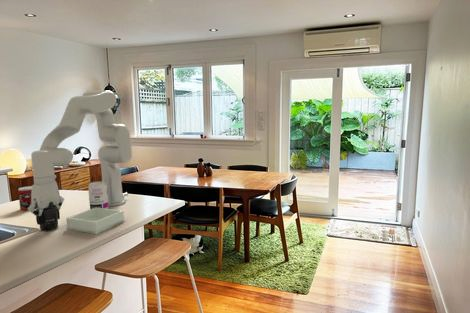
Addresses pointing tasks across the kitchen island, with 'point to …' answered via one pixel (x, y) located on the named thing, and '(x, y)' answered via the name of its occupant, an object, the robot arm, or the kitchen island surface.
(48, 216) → the supplement bottle
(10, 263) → the kitchen island surface
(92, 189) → the supplement can
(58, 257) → the kitchen island surface
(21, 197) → the canned food
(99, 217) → the bin
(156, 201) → the kitchen island surface
